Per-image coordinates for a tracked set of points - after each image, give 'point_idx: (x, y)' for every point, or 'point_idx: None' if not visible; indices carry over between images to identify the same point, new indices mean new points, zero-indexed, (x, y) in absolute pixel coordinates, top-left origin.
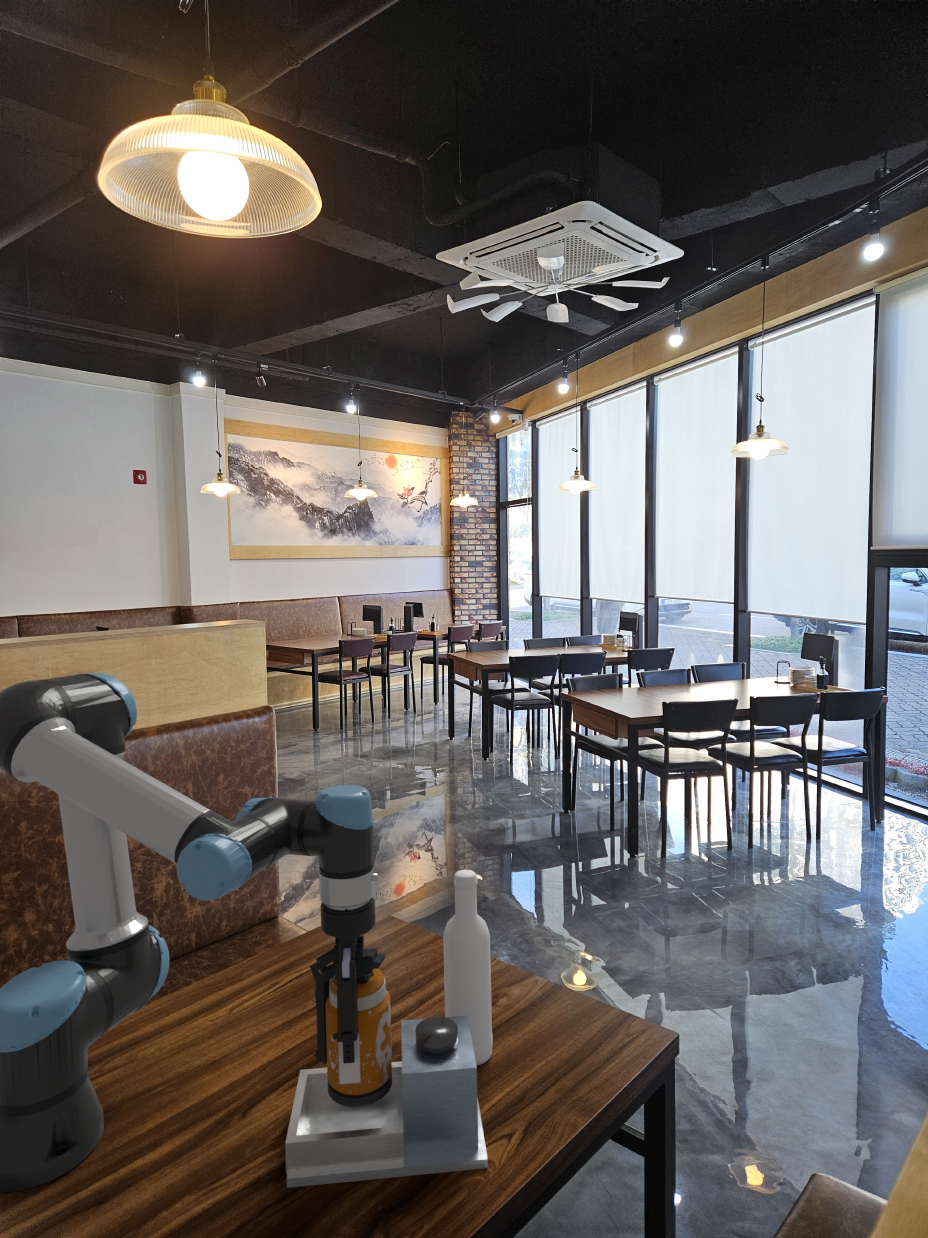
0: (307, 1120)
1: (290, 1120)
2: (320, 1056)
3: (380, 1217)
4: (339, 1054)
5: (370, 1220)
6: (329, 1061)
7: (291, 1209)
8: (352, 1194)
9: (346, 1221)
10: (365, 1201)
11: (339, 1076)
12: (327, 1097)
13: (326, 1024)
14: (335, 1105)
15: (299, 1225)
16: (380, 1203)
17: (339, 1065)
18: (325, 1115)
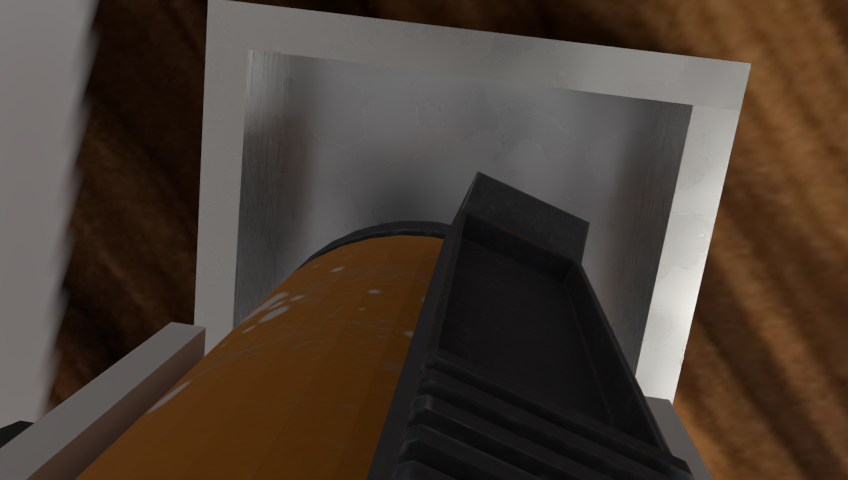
0: (530, 97)
1: (352, 18)
2: (454, 220)
3: (90, 318)
4: (45, 418)
5: (84, 289)
6: (297, 290)
7: (157, 38)
8: (185, 244)
9: (89, 218)
10: (153, 282)
11: (146, 341)
12: (641, 189)
13: (278, 388)
14: (588, 220)
15: (93, 67)
16: (139, 325)
17: (105, 374)
18: (538, 175)
